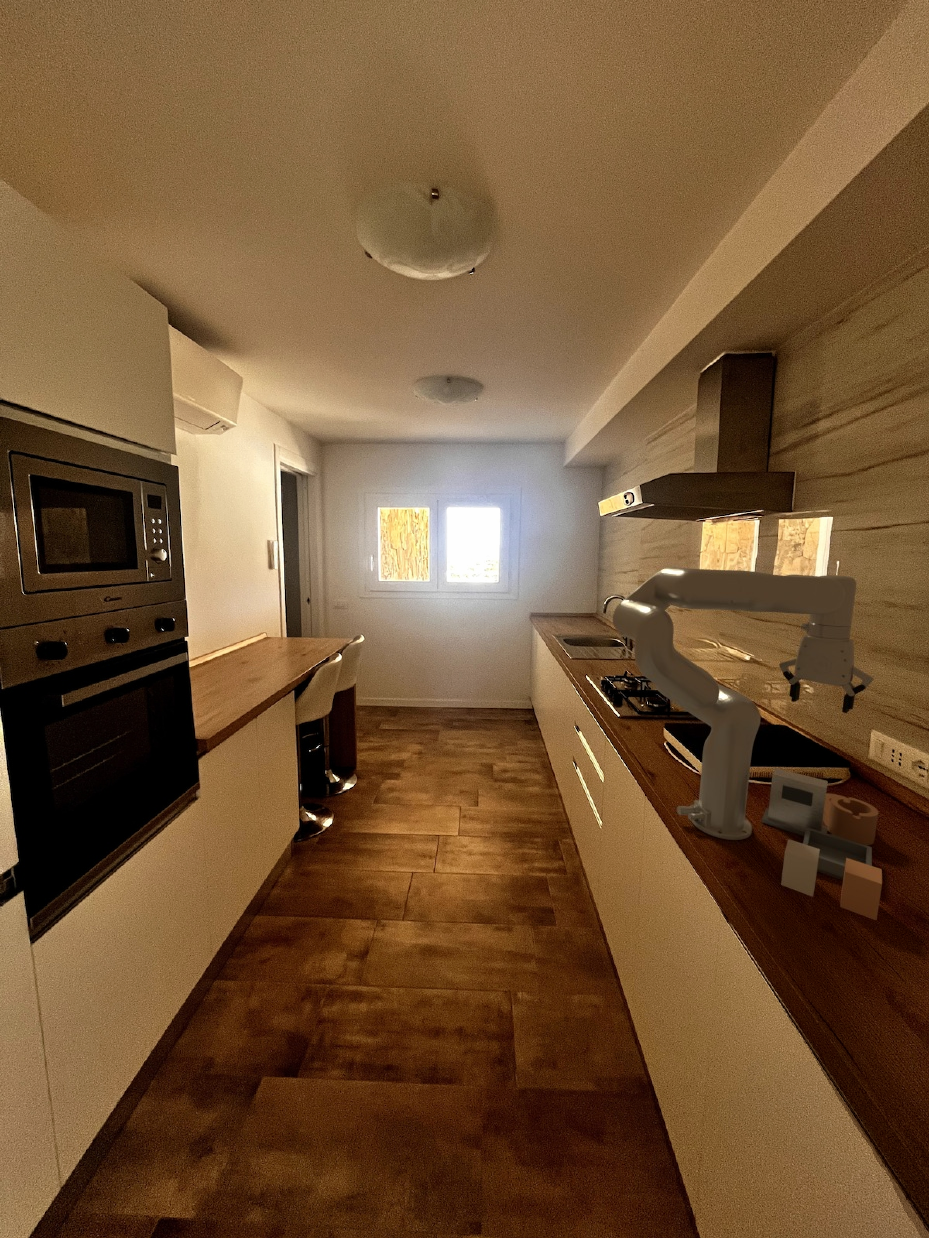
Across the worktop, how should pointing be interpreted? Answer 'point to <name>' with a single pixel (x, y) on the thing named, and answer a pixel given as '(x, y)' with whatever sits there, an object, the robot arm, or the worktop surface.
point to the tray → (836, 852)
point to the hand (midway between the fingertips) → (819, 705)
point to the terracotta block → (861, 888)
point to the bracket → (850, 819)
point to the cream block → (800, 867)
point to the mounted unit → (796, 802)
